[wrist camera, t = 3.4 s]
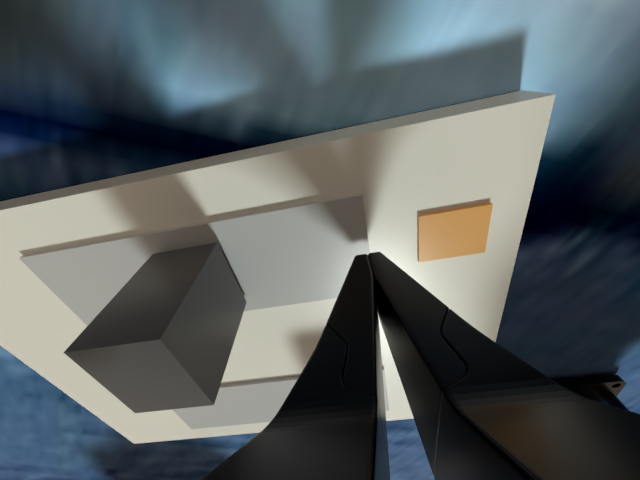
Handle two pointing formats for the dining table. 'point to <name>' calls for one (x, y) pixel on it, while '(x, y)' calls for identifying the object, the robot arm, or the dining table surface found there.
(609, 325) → the dining table surface
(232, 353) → the board
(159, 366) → the block
